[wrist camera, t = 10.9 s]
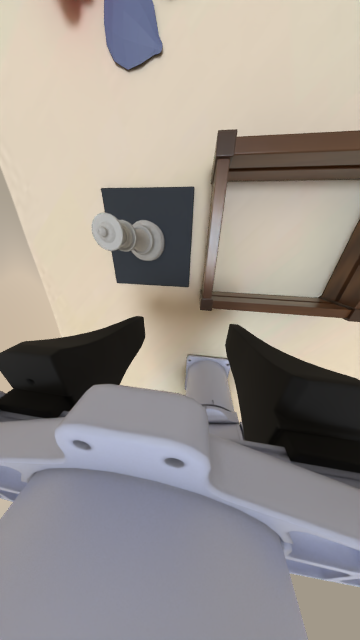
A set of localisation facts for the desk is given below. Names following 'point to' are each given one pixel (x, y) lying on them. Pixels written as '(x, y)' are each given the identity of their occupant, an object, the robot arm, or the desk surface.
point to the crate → (272, 165)
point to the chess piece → (128, 236)
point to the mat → (175, 223)
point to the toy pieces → (131, 31)
